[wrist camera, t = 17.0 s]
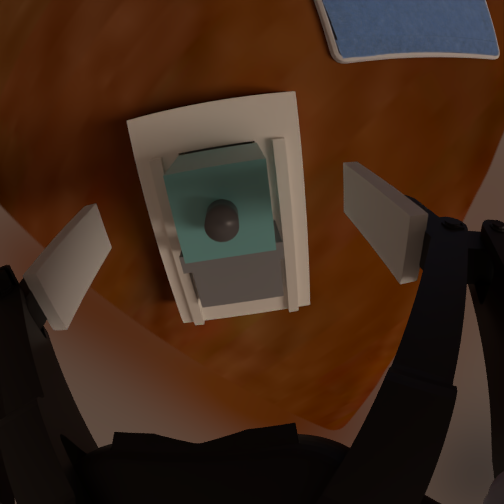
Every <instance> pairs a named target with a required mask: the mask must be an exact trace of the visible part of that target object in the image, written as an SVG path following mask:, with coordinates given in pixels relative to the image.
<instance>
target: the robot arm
mask: <svg viewBox="0 0 504 504" xmlns="http://www.w3.org/2000/svg"><path fill="white" fill-rule="evenodd" d="M343 174H344V212H345V214H346V215H347V216H348V217H349V219H350V220H351V221H352V222H353V223H354V225H355V226H356V227H357V228H358V230H359V231H360V232H361V233H362V235H363V236H364V237H365V238H366V240H367V241H368V242H369V243H370V245H371V246H372V247H373V249H374V250H375V251H376V252H377V254H378V255H379V256H380V258H381V259H382V260H383V262H384V263H385V264H386V266H387V267H388V268H389V270H390V271H391V272H392V274H393V275H394V276H395V278H396V279H397V281H398V282H399V283H400V284H404V283H408V282H413V281H417V278H418V273H419V268H420V267H421V269H422V270H423V273H422V277H421V281H420V284H419V288H418V291H417V295H416V298H415V301H414V304H413V308H412V311H411V314H410V317H409V320H408V323H407V326H406V329H405V331H404V334H403V337H402V340H401V343H400V345H399V348H398V351H397V353H396V356H395V358H394V361H393V364H392V366H391V367H390V368H389V370H388V372H387V374H386V376H385V379H384V381H383V383H382V386H381V388H380V390H379V392H378V394H377V397H376V399H375V401H374V403H373V405H372V407H371V409H370V411H369V413H368V415H367V417H366V420H365V421H364V423H363V425H362V427H361V429H360V431H359V433H358V435H357V437H356V439H355V440H354V442H353V444H352V446H351V447H350V448H349V447H347V446H345V445H343V444H341V443H339V442H336V441H333V440H330V439H327V438H323V437H319V436H312V435H303V434H297V429H296V424H295V423H290V424H284V425H278V426H271V427H263V428H255V429H247V430H244V431H241V432H238V433H235V434H232V435H229V436H225V437H222V438H219V439H215V440H212V441H208V442H204V443H200V444H199V443H198V444H197V443H190V442H186V441H181V440H176V439H172V438H168V437H164V436H160V435H156V434H148V433H147V434H145V433H123V432H114V437H113V442H112V444H110V445H106V446H103V447H100V448H98V446H97V444H96V443H95V441H94V439H93V437H92V435H91V434H90V431H89V430H88V428H87V426H86V424H85V422H84V420H83V418H82V416H81V414H80V412H79V410H78V408H77V405H76V403H75V401H74V399H73V397H72V394H71V392H70V390H69V388H68V385H67V383H66V380H65V378H64V376H63V373H62V371H61V368H60V366H59V363H58V361H57V358H56V355H55V352H54V350H53V347H52V344H51V341H50V338H49V335H48V332H47V331H46V329H45V327H44V326H43V325H44V324H45V322H46V320H48V322H49V324H50V325H51V327H52V328H53V330H67V329H68V327H69V325H70V323H71V321H72V319H73V316H74V315H75V313H76V311H77V309H78V307H79V305H80V302H81V301H82V299H83V297H84V295H85V294H86V292H87V290H88V288H89V286H90V284H91V283H92V281H93V279H94V277H95V275H96V274H97V272H98V270H99V268H100V267H101V265H102V263H103V261H104V260H105V258H106V256H107V255H108V253H109V251H110V250H111V248H112V247H111V245H110V242H109V239H108V236H107V233H106V231H105V228H104V225H103V222H102V219H101V216H100V213H99V210H98V207H97V204H96V203H95V204H91V205H87V206H84V207H83V208H82V209H81V210H80V211H79V213H78V214H77V215H76V216H75V217H74V218H73V219H72V220H71V221H70V222H69V223H68V224H67V225H66V226H65V227H64V228H63V229H62V230H61V231H60V233H59V234H58V235H57V236H56V237H55V238H54V239H53V240H52V241H51V243H50V244H49V245H48V246H47V247H46V248H45V249H44V251H43V252H42V253H41V254H40V255H39V256H38V258H37V259H36V260H35V261H34V263H33V264H32V265H31V266H30V267H29V268H28V270H27V271H26V272H25V273H24V275H23V279H22V280H21V282H20V283H18V281H17V279H16V277H15V275H14V273H13V271H12V269H11V267H10V265H5V266H2V267H0V504H15V500H16V502H17V504H441V503H439V502H437V501H435V500H433V499H431V498H430V497H428V496H426V495H425V492H426V490H427V488H428V485H429V483H430V480H431V478H432V475H433V472H434V470H435V467H436V465H437V462H438V459H439V456H440V453H441V450H442V447H443V444H444V441H445V438H446V434H447V431H448V428H449V424H450V421H451V417H452V413H453V409H454V405H455V400H456V395H457V387H456V386H453V379H454V374H455V370H456V364H457V360H458V354H459V348H460V342H461V335H462V327H463V319H464V311H465V299H466V287H467V286H466V285H467V284H468V286H469V289H470V293H471V297H472V301H473V304H474V309H475V313H476V317H477V322H478V326H479V331H480V336H481V341H482V346H483V352H484V359H485V365H486V372H487V380H488V388H489V399H490V413H491V431H492V432H491V437H492V462H493V470H494V478H495V479H494V481H493V483H492V484H491V486H490V489H489V492H488V495H487V496H486V497H485V499H484V502H483V504H504V223H503V222H500V221H498V220H485V221H484V222H483V224H482V229H481V232H476V231H468V229H467V226H466V225H465V224H464V223H463V222H461V221H460V220H458V219H454V218H450V217H440V218H439V217H438V216H437V215H435V214H434V213H433V212H432V211H430V210H429V209H427V208H426V207H425V206H424V205H422V204H421V203H420V202H419V201H417V200H416V199H414V198H412V197H409V196H407V195H403V194H402V193H401V192H399V191H398V190H397V189H395V188H394V187H393V186H391V185H390V184H388V183H387V182H386V181H384V180H383V179H381V178H380V177H379V176H377V175H376V174H374V173H373V172H371V171H370V170H368V169H367V168H366V167H364V166H363V165H361V164H360V163H358V162H346V163H343Z"/></svg>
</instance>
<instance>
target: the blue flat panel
mask: <svg viewBox="0 0 504 504" xmlns="http://www.w3.org/2000/svg"><path fill="white" fill-rule="evenodd" d="M314 3H315V6H316V8H317V11H318V14H319V17H320V20H321V23H322V26H323V30H324V33H325V36H326V40H327V43H328V46H329V50H330V53H331V56H332V57H333V59H334V60H335V61H337V62H339V63H354V62H362V61H371V60H382V59H394V58H413V57H462V58H481V59H493V60H494V59H497V58H498V57H499V48H498V43H497V39H496V35H495V31H494V27H493V24H492V20H491V16H490V13H489V10H488V6H487V3H486V0H314Z"/></svg>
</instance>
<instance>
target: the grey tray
mask: <svg viewBox="0 0 504 504" xmlns="http://www.w3.org/2000/svg"><path fill="white" fill-rule="evenodd" d="M127 126H128V131H129V135H130V140H131V145H132V149H133V153H134V158H135V162H136V166H137V170H138V175H139V179H140V183H141V187H142V191H143V194H144V198H145V202H146V206H147V209H148V213H149V217H150V220H151V224H152V227H153V231H154V234H155V238H156V241H157V244H158V248H159V251H160V254H161V258H162V261H163V264H164V267H165V270H166V273H167V276H168V280H169V283H170V286H171V289H172V292H173V295H174V297H175V300H176V303H177V306H178V309H179V312H180V315H181V318H182V320H183V323H186V322H194V323H195V325H202V324H204V322H205V320H211V319H219V318H227V317H234V316H241V315H248V314H255V313H262V312H268V311H275V310H281V309H287V308H288V309H289V312H293V311H299V309H298V307H299V306H305V305H310V285H309V257H308V236H307V218H306V202H305V188H304V175H303V163H302V151H301V140H300V130H299V120H298V111H297V102H296V94H295V91H293V92H278V93H268V94H259V95H251V96H243V97H236V98H229V99H222V100H216V101H210V102H205V103H199V104H194V105H189V106H184V107H179V108H175V109H170V110H166V111H161V112H157V113H153V114H149V115H145V116H141V117H137V118H134V119H131V120H127ZM251 143H257V144H258V146H259V147H260V149H261V151H262V153H263V154H264V156H265V158H266V163H267V171H268V180H269V188H270V197H271V206H272V214H273V220H275V222H276V225H277V227H278V230H279V233H280V236H281V239H282V242H283V252H284V259H280V261H281V272H282V283H283V293H284V296H280V297H274V298H267V299H261V300H254V301H247V302H240V303H233V304H226V305H219V306H211V307H203V308H202V305H201V301H200V298H199V294H198V291H197V287H196V284H195V280H194V276H193V273H186V274H184V273H183V270H182V266H181V263H180V259H179V256H180V252H181V246H180V243H179V239H178V235H177V231H176V227H175V223H174V219H173V215H172V211H171V207H170V203H169V199H168V195H167V191H166V186H165V182H164V178H163V175H164V174H165V173H166V171H167V170H168V169H169V167H170V166H171V165H172V163H173V162H174V161H175V160H176V158H177V157H178V156H179V155H184V154H190V153H195V152H200V151H206V150H212V149H218V148H224V147H230V146H237V145H244V144H251Z"/></svg>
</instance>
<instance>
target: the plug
mask: <svg viewBox="0 0 504 504" xmlns="http://www.w3.org/2000/svg"><path fill="white" fill-rule="evenodd" d="M163 178H164V182H165V186H166V191H167V195H168V199H169V203H170V207H171V211H172V215H173V219H174V223H175V227H176V231H177V235H178V239H179V243H180V246H181V250H182V254H183V257H184V261H185V264H186V263H193V262H200V261H206V260H213V259H220V258H226V257H233V256H240V255H246V254H253V253H260V252H266V251H273V250H276V242H275V233H274V223H273V214H272V206H271V197H270V188H269V180H268V171H267V163H266V158H265V156H264V154H263V153H262V151H261V149H260V147H259V146H258V144H257V143H251V144H244V145H237V146H230V147H224V148H218V149H212V150H206V151H200V152H195V153H190V154H184V155H179V156H178V157H177V158H176V160H175V161H174V162H173V163H172V165H171V166H170V167H169V169H168V170H167V171H166V173H165V174H164V175H163Z"/></svg>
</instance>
